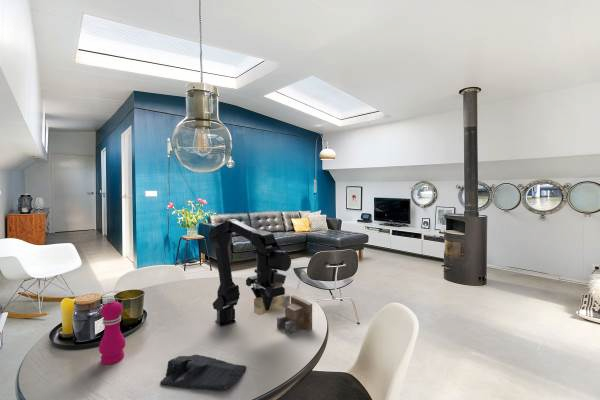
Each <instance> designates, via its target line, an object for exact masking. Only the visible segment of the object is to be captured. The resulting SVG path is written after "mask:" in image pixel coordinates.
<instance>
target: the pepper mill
mask: <svg viewBox="0 0 600 400" xmlns="http://www.w3.org/2000/svg"><path fill="white" fill-rule="evenodd" d="M123 310H124V308H123V305H122V303H121V302H119V301H116V299H115V298H114V297H109V299H108V302H107V303H104V305H103V306H101V309H100V316H101V317H102V324H103V325H104V332H103V336H102V337H101V340H100V341H99V345H98V352H99V353H100V355H101V356H100V363H101V364H102V365H104V366H105V365H106V366H107V365H113V364H116V363H119V362H120V361H122V360H123V359H124V358H125V350H124V348H125V347H126V338H125V337H124V335H123V333H122V331H121V328H120V322H121V320H122V315H121V314H122V313H123Z"/></svg>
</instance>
